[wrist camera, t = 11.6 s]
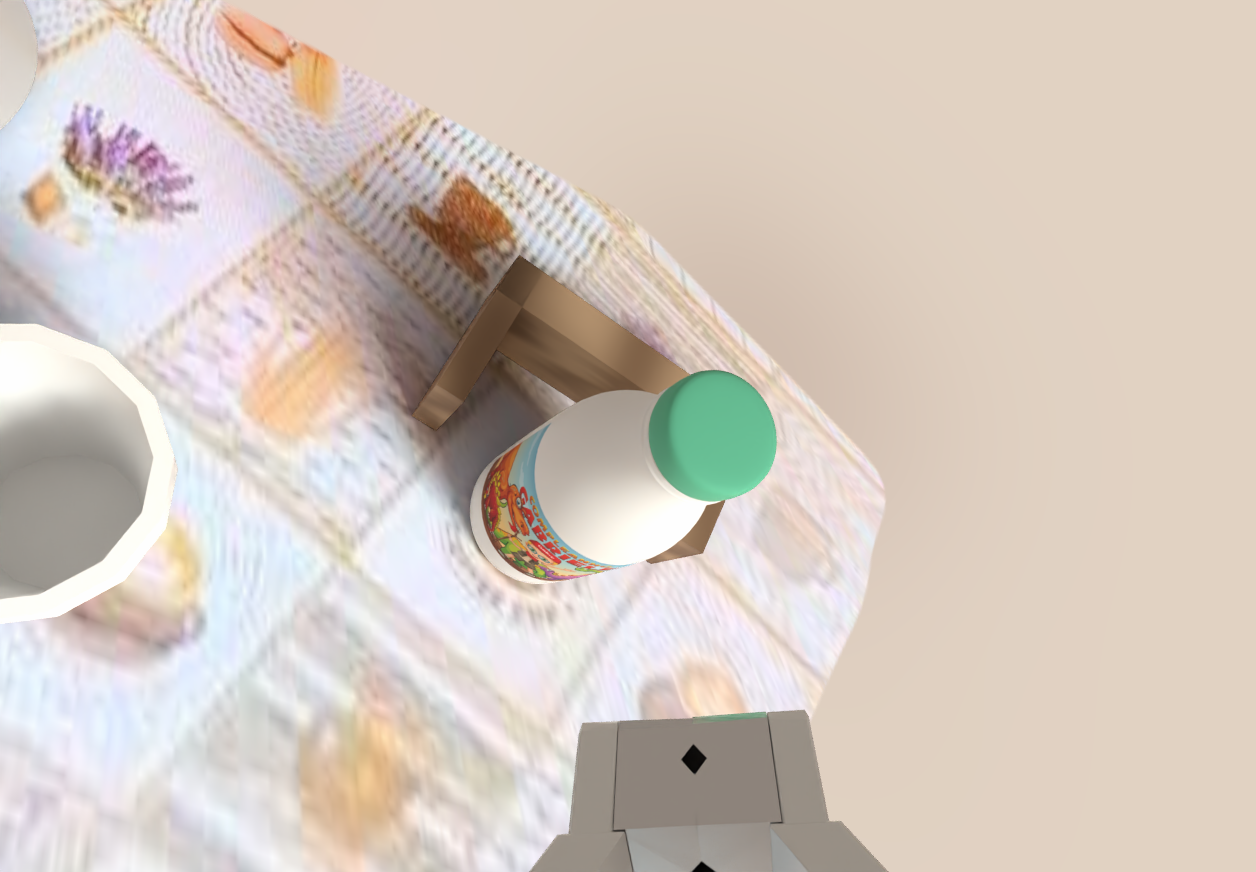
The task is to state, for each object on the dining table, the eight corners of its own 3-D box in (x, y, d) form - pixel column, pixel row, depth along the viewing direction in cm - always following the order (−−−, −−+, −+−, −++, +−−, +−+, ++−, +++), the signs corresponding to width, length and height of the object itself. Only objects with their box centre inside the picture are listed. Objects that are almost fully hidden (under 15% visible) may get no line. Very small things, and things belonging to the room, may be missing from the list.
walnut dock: (411, 415, 45) (436, 384, 40) (486, 298, 48) (519, 255, 43) (650, 563, 49) (702, 553, 44) (704, 445, 52) (758, 422, 47)
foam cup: (46, 380, 38) (-31, 265, 27) (230, 491, 40) (233, 429, 29) (-124, 559, 34) (-299, 514, 23) (91, 672, 36) (30, 682, 25)
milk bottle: (500, 423, 47) (668, 285, 29) (616, 483, 49) (837, 388, 32) (442, 549, 44) (593, 478, 26) (569, 607, 46) (785, 578, 29)
